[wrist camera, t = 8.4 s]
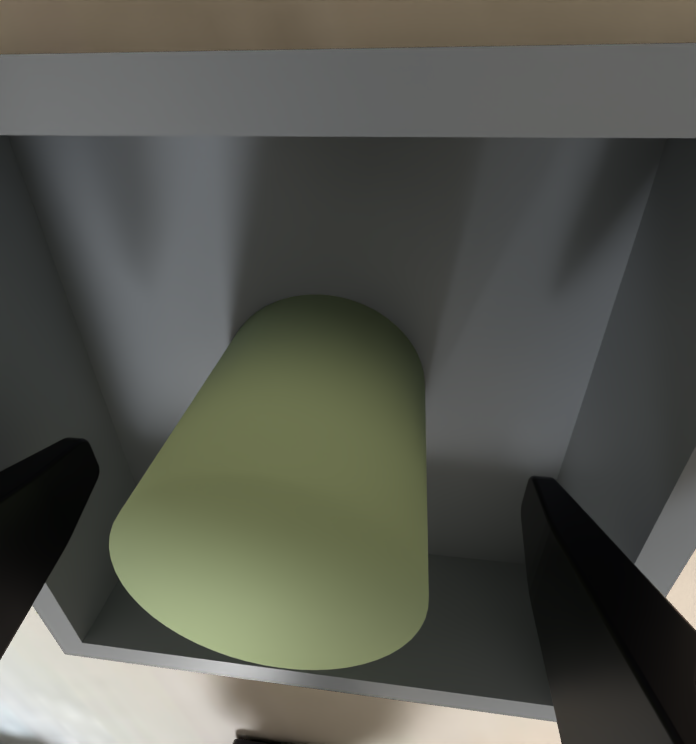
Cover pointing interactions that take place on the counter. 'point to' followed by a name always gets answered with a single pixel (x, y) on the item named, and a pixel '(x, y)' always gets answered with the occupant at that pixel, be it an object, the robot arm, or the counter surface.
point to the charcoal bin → (365, 303)
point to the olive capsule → (290, 495)
